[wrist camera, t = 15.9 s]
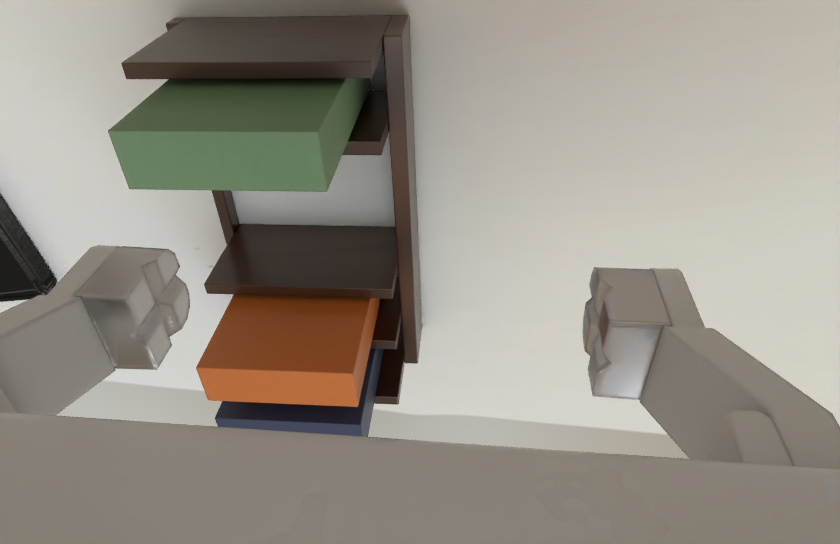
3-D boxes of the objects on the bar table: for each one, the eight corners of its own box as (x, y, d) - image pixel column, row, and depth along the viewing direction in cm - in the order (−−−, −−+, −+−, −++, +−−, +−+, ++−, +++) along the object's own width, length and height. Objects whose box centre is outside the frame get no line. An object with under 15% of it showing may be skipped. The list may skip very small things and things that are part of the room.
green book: (216, 38, 35) (107, 130, 25) (367, 37, 34) (318, 131, 24) (227, 85, 37) (129, 189, 27) (371, 85, 36) (327, 192, 26)
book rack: (173, 17, 35) (104, 63, 28) (409, 14, 34) (392, 61, 27) (255, 322, 49) (221, 397, 43) (422, 327, 48) (412, 405, 42)
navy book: (273, 284, 46) (214, 418, 36) (387, 288, 46) (360, 425, 35) (279, 312, 48) (224, 446, 38) (390, 315, 47) (364, 453, 37)
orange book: (262, 238, 44) (195, 367, 34) (384, 240, 43) (353, 374, 33) (269, 268, 46) (207, 400, 35) (386, 271, 45) (358, 407, 34)
